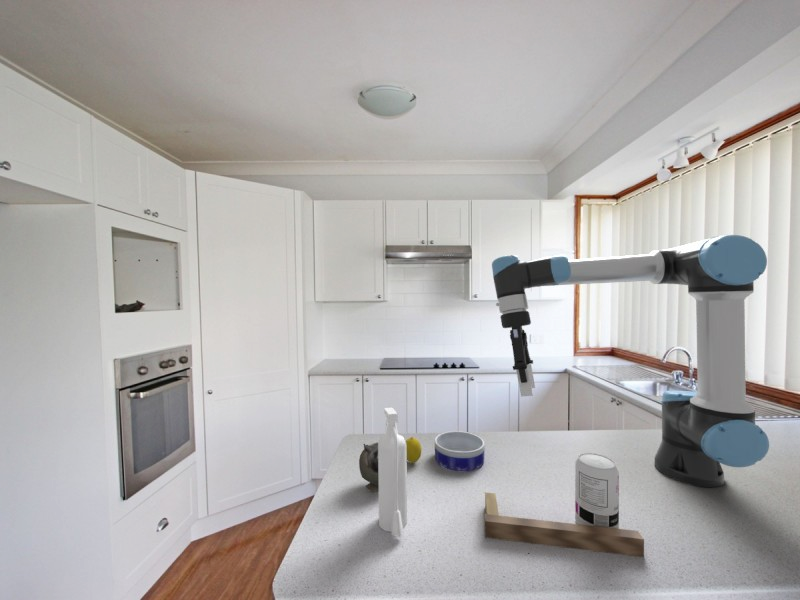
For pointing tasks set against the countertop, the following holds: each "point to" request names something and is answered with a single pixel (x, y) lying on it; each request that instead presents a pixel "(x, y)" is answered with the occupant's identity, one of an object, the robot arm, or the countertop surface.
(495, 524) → the walnut fence
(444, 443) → the dog bowl
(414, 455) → the lemon
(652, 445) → the countertop surface
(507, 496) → the countertop surface
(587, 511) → the supplement can
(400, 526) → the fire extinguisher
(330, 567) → the countertop surface
